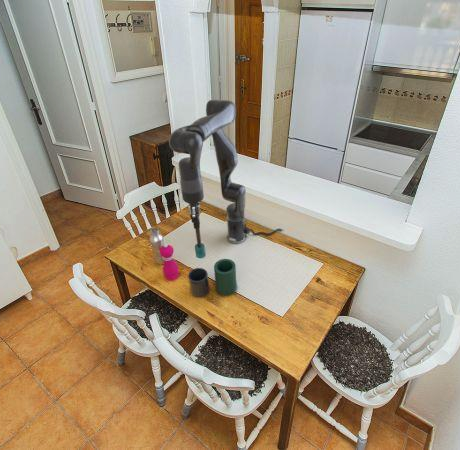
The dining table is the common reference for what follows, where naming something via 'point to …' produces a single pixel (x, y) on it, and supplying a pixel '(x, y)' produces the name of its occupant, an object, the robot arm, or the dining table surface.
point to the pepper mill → (169, 262)
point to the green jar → (225, 277)
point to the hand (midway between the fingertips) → (197, 226)
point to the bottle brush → (199, 246)
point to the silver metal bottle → (156, 245)
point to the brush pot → (198, 282)
